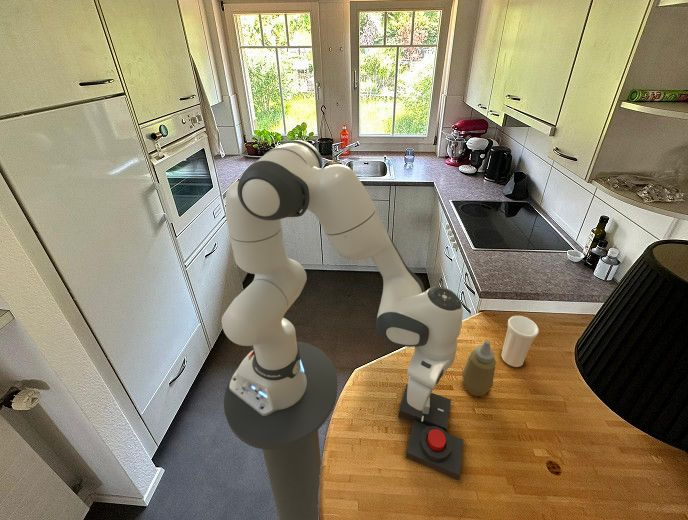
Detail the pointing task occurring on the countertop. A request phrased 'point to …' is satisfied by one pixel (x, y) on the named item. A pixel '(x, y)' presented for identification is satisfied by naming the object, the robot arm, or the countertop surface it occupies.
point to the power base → (439, 461)
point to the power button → (436, 440)
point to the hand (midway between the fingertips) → (428, 387)
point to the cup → (518, 340)
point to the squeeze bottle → (479, 370)
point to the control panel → (436, 412)
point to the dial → (426, 407)
